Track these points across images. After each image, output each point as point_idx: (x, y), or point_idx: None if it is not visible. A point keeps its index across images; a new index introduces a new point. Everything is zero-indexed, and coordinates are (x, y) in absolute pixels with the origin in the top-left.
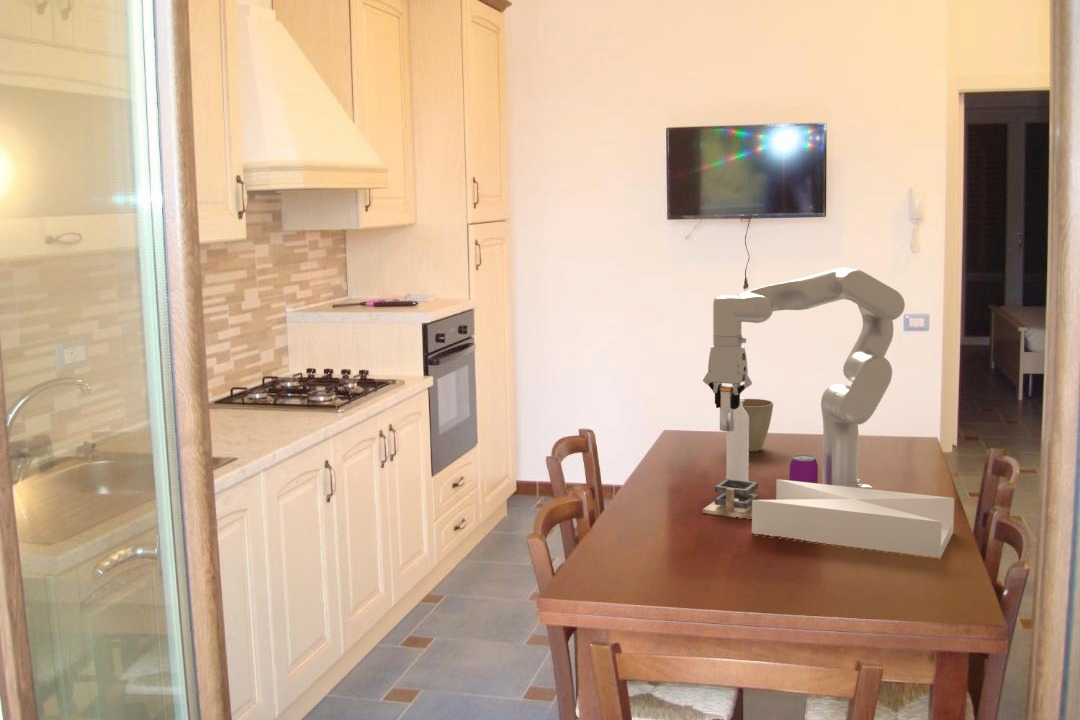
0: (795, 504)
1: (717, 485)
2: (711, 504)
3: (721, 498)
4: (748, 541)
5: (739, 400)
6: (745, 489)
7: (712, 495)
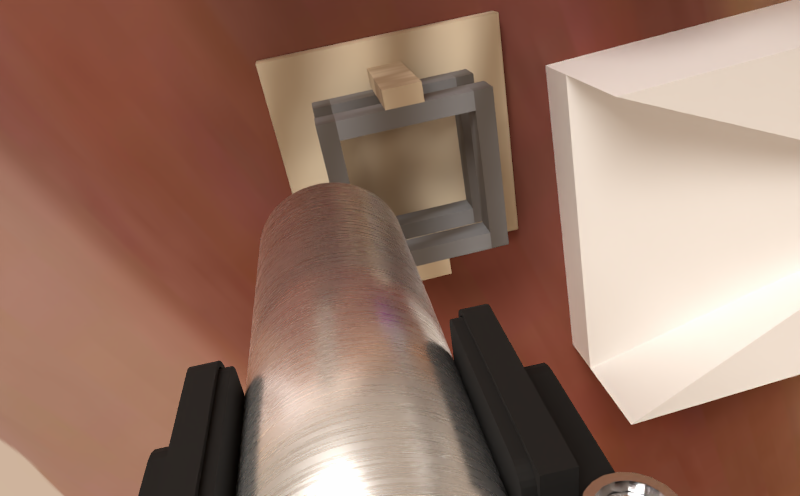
0: (784, 374)
1: None
2: None
3: None
4: (587, 393)
5: (572, 416)
6: (495, 234)
7: (169, 16)
